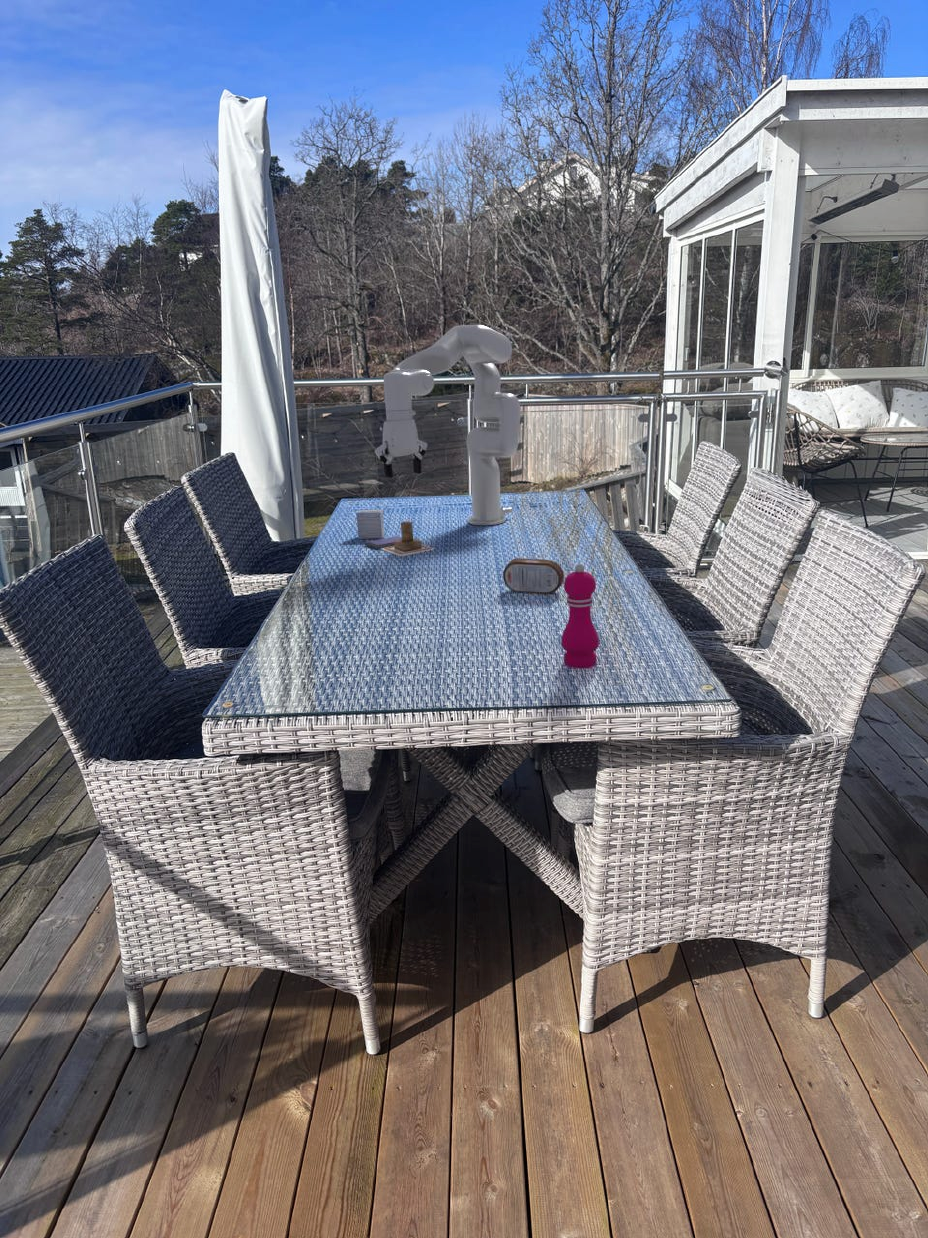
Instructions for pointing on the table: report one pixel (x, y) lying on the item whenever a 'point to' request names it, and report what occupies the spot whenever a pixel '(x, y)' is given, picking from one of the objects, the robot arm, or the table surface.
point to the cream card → (401, 553)
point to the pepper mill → (580, 620)
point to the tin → (533, 576)
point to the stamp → (407, 539)
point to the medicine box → (370, 524)
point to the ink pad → (382, 542)
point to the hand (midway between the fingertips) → (403, 475)
